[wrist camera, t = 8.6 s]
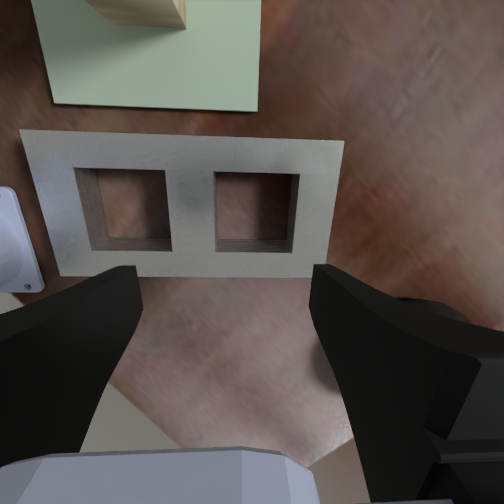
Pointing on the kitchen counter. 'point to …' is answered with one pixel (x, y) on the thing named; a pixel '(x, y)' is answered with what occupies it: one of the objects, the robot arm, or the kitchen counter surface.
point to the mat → (153, 57)
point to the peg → (143, 12)
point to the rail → (182, 202)
